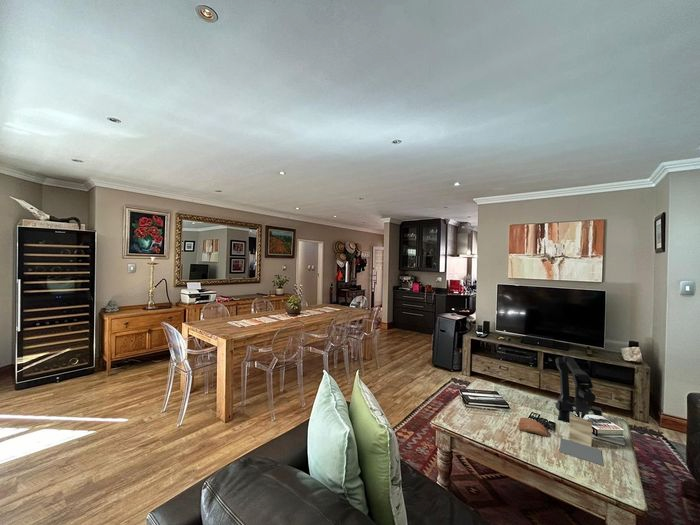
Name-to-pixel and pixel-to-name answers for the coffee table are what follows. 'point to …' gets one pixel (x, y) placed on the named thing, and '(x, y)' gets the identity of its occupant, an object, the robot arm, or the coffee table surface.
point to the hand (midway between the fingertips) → (580, 422)
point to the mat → (581, 451)
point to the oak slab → (580, 430)
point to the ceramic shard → (532, 426)
